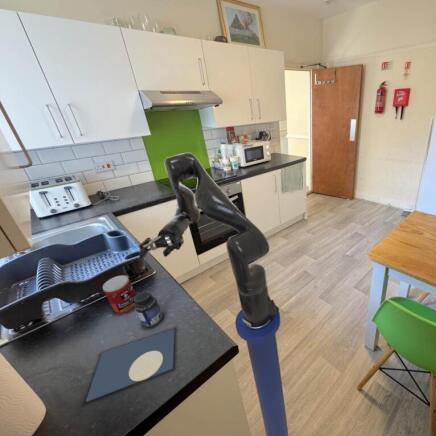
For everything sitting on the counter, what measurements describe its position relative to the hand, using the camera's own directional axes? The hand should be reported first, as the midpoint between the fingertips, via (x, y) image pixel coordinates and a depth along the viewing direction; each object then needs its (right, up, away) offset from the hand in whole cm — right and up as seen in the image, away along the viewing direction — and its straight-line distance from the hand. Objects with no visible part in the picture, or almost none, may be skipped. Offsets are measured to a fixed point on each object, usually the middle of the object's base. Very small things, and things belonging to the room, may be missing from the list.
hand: (152, 255), depth 82 cm
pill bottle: (+1, -22, -2) cm, 22 cm away
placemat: (+4, -28, -14) cm, 32 cm away
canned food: (-13, -20, +5) cm, 24 cm away
